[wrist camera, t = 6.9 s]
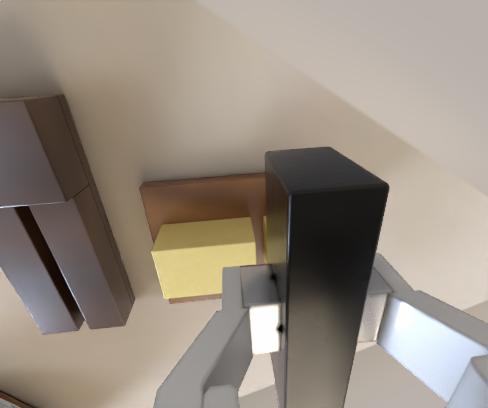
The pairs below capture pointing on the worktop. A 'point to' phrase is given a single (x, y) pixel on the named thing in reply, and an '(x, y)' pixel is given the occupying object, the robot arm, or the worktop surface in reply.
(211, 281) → the butter
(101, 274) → the knife stand
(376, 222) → the knife
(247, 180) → the board
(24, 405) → the tin
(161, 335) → the worktop surface
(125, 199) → the worktop surface
